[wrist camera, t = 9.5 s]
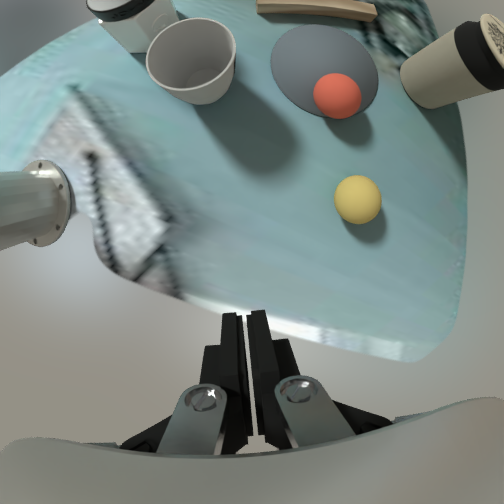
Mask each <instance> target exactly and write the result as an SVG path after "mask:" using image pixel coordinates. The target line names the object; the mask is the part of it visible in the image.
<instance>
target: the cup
mask: <svg viewBox="0 0 504 504" xmlns="http://www.w3.org/2000/svg"><path fill="white" fill-rule="evenodd" d="M235 57H236V44H235V39H234V37H233V35H232V33H231V32H230V30H229V29H228V28H227V27H226V26H224V25H223V24H221V23H220V22H218V21H215V20H212V19H208V18H189V19H184V20H181V21H178V22H176V23H174V24H172V25H170V26H168V27H167V28H165V29H164V30H162V31H161V32H160V33H159V34H158V35H157V36H156V37H155V38H154V40H153V41H152V43H151V44H150V46H149V49H148V51H147V55H146V68H147V71H148V73H149V75H150V77H151V78H152V79H153V80H154V81H155V82H156V83H157V84H158V85H160V86H161V87H162V88H164V89H165V90H166V91H168V92H169V93H170V94H171V95H173V96H174V97H176V98H179V99H181V100H183V101H186V102H188V103H191V104H196V105H203V104H210V103H213V102H215V101H217V100H218V99H220V98H221V97H222V96H223V95H224V94H225V93H226V92H227V90H228V89H229V87H230V84H231V81H232V78H233V75H234V72H235Z"/></svg>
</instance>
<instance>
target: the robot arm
mask: <svg viewBox="0 0 504 504" xmlns="http://www.w3.org/2000/svg"><path fill="white" fill-rule="evenodd" d="M70 205H71V199H70V190H69V186H68V182H67V180H66V178H65V175H64V174H63V172H62V170H61V169H60V168H59V167H58V166H57V165H56V164H54V163H53V162H51V161H47V160H37V161H34V162H32V163H30V164H28V165H27V166H26V167H25V168H24V169H23V170H22V171H11V172H0V251H1V250H4V249H7V248H9V247H12V246H15V245H17V244H20V243H23V242H26V241H27V242H29V243H30V244H32V245H34V246H38V247H43V246H47V245H50V244H52V243H54V242H55V241H57V240H58V239H59V238H60V236H61V235H62V233H63V232H64V230H65V228H66V226H67V223H68V219H69V215H70ZM246 318H247V328H248V339H249V349H250V359H251V369H252V378H253V389H254V398H255V407H256V416H257V426H258V435H265V442H266V443H269V444H271V445H273V446H275V447H277V451H270V452H260V453H248V454H238V450H239V449H241V448H242V447H243V446H245V445H246V444H248V436H253V425H252V414H251V402H250V391H249V380H248V368H247V361H246V360H247V359H246V350H245V341H244V331H243V321H242V315H241V316H237V314H236V312H234V313H223V315H222V329H221V343H220V345H210V346H205V349H204V356H203V362H202V369H201V376H200V383H199V385H194V386H192V387H190V388H188V389H187V390H185V391H184V392H183V393H182V395H181V396H180V398H179V401H178V403H177V405H176V408H175V410H174V412H173V414H172V415H171V416H169V417H168V418H166V419H164V420H162V421H161V422H159V423H157V424H155V425H154V426H152V427H150V428H148V429H146V430H145V431H143V432H141V433H139V434H137V435H135V436H133V437H131V438H130V439H128V440H126V441H125V442H124V443H122V445H119V446H118V445H117V444H116V443H115V442H113V443H80V442H75V441H69V440H63V439H55V438H42V437H36V438H35V437H34V438H23V439H18V440H15V441H13V442H11V443H9V444H8V445H7V446H6V447H5V448H4V449H3V450H2V451H1V452H0V504H504V400H503V399H500V398H496V397H481V398H474V399H468V400H464V401H460V402H456V403H453V404H450V405H447V406H443V407H440V408H438V409H435V410H433V411H429V412H425V413H418V414H413V415H407V416H400V417H395V420H394V421H390V420H388V419H387V418H384V417H382V416H379V415H376V414H372V413H369V412H366V411H363V410H360V409H357V408H354V407H351V406H348V405H345V404H342V403H339V402H336V401H334V400H332V399H331V398H330V397H329V395H328V393H327V392H326V391H325V389H324V388H323V387H322V385H321V383H320V382H318V380H316V379H314V378H312V377H308V376H302V375H300V372H299V370H298V366H297V364H296V360H295V358H294V355H293V351H292V348H291V346H290V343H289V340H288V339H279V340H272V338H271V334H270V330H269V325H268V321H267V317H266V313H265V310H257V311H251V315H246Z"/></svg>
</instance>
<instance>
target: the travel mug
mask: <svg viewBox="0 0 504 504" xmlns="http://www.w3.org/2000/svg"><path fill="white" fill-rule="evenodd" d="M400 76H401V81H402V84H403V86H404V88H405V90H406V92H407V93H408V95H409V96H410V97H411V98H412V99H413V100H414V101H415V102H416V103H417V104H419V105H420V106H422V107H424V108H427V109H435V108H438V107H441V106H445V105H448V104H451V103H454V102H457V101H461V100H464V99H467V98H471V97H474V96H478V95H481V94H485V93H489V92H492V91H496V90H500V89H504V24H503V23H502V22H501V21H500V20H499V19H497V18H496V17H494V16H493V15H490V14H483V15H482V16H481V18H480V21H479V22H472V21H467V22H465V23H463V24H462V25H460V26H458V27H456V28H455V29H453V30H452V31H450V32H448V33H447V34H445V35H444V36H442V37H440V38H439V39H437V40H436V41H434V42H433V43H431V44H430V45H428V46H427V47H425V48H424V49H422V50H421V51H419V52H418V53H416V54H415V55H413V56H412V57H410V58H409V59H407V60H406V61H405V62H404V63H403V64H402V66H401V70H400Z"/></svg>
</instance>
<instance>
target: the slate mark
mask: <svg viewBox="0 0 504 504" xmlns="http://www.w3.org/2000/svg"><path fill="white" fill-rule="evenodd" d="M271 70H272V74H273V77H274V79H275V81H276V83H277V85H278V87H279V88H280V90H281V91H282V92H283V93H284V95H285V96H286V97H287V98H288V99H289V100H291V101H292V102H293V103H294V104H296V105H297V106H298V107H300V108H302V109H304V110H306V111H308V112H310V113H312V114H316V115H319V116H323V117H329V116H327V115H325V114H324V113H322V112H321V111H320V110H319V109H318V107H317V106H316V104H315V101H314V97H313V91H314V87H315V85H316V83H317V82H318V80H319V79H320V78H322V77H323V76H325V75H327V74H332V73H339V74H343V75H346V76H348V77H350V78H351V79H352V80H353V81H355V83H356V84H357V85H358V87H359V89H360V92H361V104H360V107H359V109H358V110H357V111H356V112H355V113H354V114H356V113H358V112H360V111H362V110H363V109H365V108H366V107H367V106H368V105H369V104H370V102H371V101H372V100H373V98H374V96H375V94H376V91H377V86H378V75H377V70H376V66H375V64H374V61H373V59H372V57H371V56H370V54H369V53H368V51H367V50H366V49H365V48H364V46H363V45H362V44H361V43H360V42H359V41H357V40H356V39H355V38H354V37H352V36H351V35H349V34H347V33H346V32H344V31H342V30H339V29H337V28H334V27H330V26H326V25H318V24H311V25H303V26H299V27H296V28H293V29H291V30H289V31H288V32H286V33H285V34H284V35H283V36H281V37H280V38H279V40H278V41H277V42H276V44H275V46H274V48H273V51H272V55H271ZM354 114H353V115H354ZM330 118H331V117H330Z"/></svg>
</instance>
